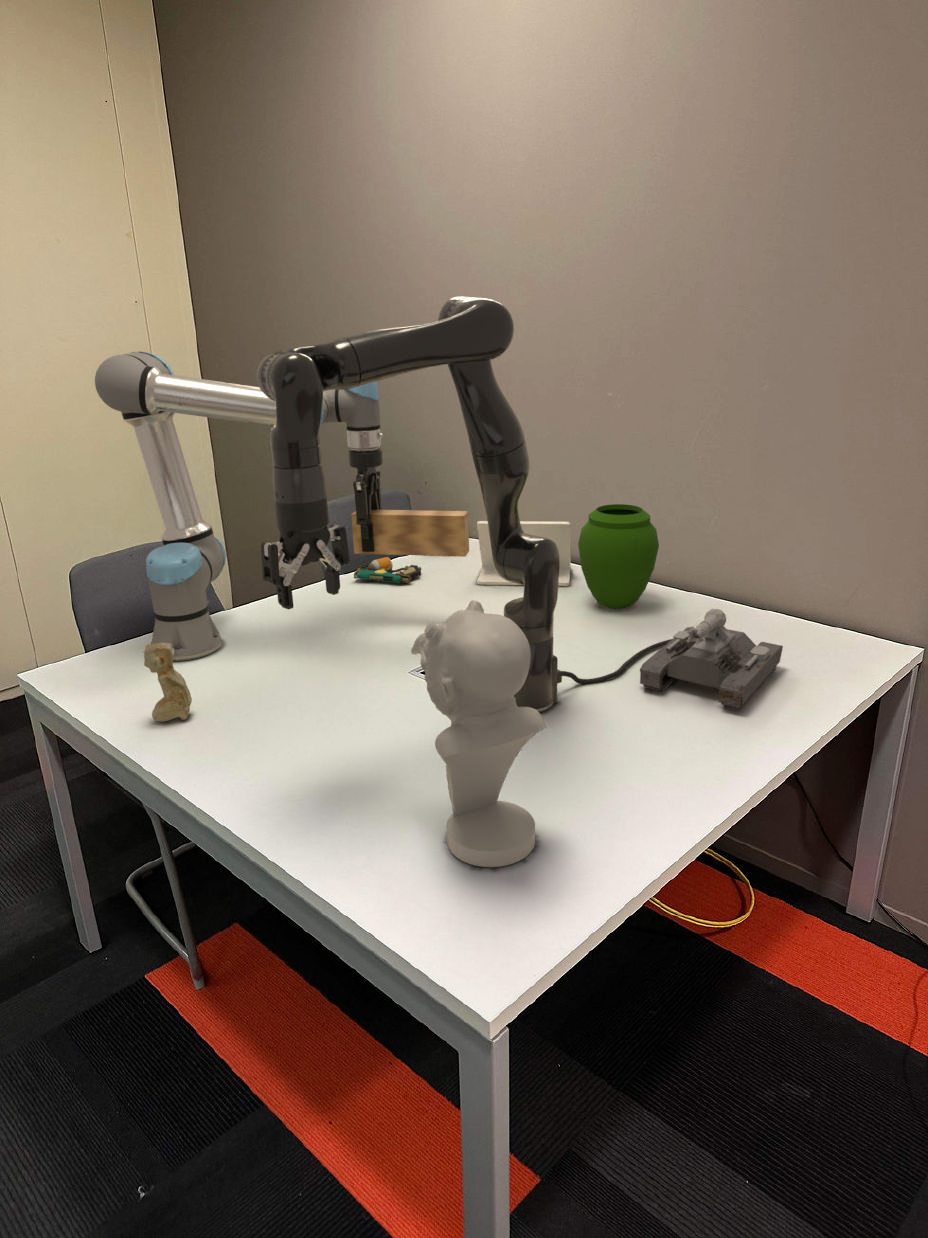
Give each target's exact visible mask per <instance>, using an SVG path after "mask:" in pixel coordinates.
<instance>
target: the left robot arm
mask: <svg viewBox="0 0 928 1238" xmlns="http://www.w3.org/2000/svg"><path fill="white" fill-rule="evenodd" d="M94 386H95V390H96V393H97V395H98V397H99V398H100V399H101V401H102V402H103V403H104V404H105V405H106V406H107V407H109V408H110V409H112V410H115V411H117V412H120V413H121V416H122V419H123V421H124V422H125V423H126V424H128V425H131V426H132V428H133V430H134V434H135V435H136V439H137V442H138V446H139V449H140V452H141V456H142V459H143V462H144V465H145V468H146V471H147V475H148V477H149V480H150V484H151V488H152V490H153V493H154V497H155V501H156V503H157V506H158V509H159V513H160V515H161V519H162V523H163V525H164V529H165V530H164V532H163V534H162V536H161V538H160V539H161V542H162V546H157V547H156V548H154V549H152V550H151V551H150V552H149V553H148V554H147V556H146V558H145V565H146V566H145V567H146V568H145V573H146V576H147V581H148V586H149V591H150V598H151V603H152V609H153V615H154V626H153V631H152V636H151V642H150V644H155V643H170V644H172V653H173V662H181V661H190V660H195V659H200V658H203V657H206V656H208V655H211V654H213V653H215V652H216V651H218V650H219V649H220V648H221V646H222V638H221V637H222V636H221V634H220V632H219V630H218V628H217V626H216V624H215V622H214V621H213V619H212V616H211V615H210V612H209V604H208V597H207V588H208V587H209V586H210V584H211V583H213V582H214V581H216V579H218V577H219V576H220V575H221V573H222V572H223V569H224V567H225V564H226V561H227V555H226V549H225V547H224V544H223V542H222V541H221V540H220V539H219V538H218V537H217V536H215V533H214V530H213V527H212V525H211V524H210V523H208V522H206V521H205V520H204V519H203V516H202V513H201V510H200V507H199V503H198V501H197V496H196V493H195V490H194V486H193V483H192V480H191V476H190V473H189V470H188V467H187V464H186V459H185V457H184V456H185V455H184V453H183V449H182V446H181V443H180V439H179V436H178V433H177V429H176V426H175V423H174V419H173V418H174V415H175V414H179V415H180V414H182V415H187V416H188V415H189V416H195V417H203V418H209V419H210V418H211V419H217V420H224V421H232V422H239V423H247V424H255V425H261V426H268V427H273V426H274V425H276V402H275V401H273V400H271V399H269V398H268V397H267V396H266V395H264V394H263V392H262V391H261V390H260V388H259V386H253V385H247V384H241V383H240V384H238V383H231V382H224V381H218V380H211V379H205V378H197V377H189V376H184V375H176V374H174V372H173V370H172V368H171V366H170V365H169V364H168V363H167V362H166V361H165V360H164V359H163V358H162V357H160V356H159V355H157V354H155V353H152V352H148V351H131V352H129V353H128V352H127V353H124V354H116V355H112V356H110V357H107V358H106V359H105V360H103V361H101V363H100V365H99V366H98V367H97V369H96V371H95V376H94ZM378 389H379V388H378V381H376V382H373V383H369V384H366V385H362V386H358V387H355V388H351V389H344V390H326V391H323V405H322V416H321V423H320V427H321V426H322V425H323V424H327V423H345V424H346V440H347V448H348V449H349V450H348V452H347V453H348V465H349V466H350V467H351V468H355V469H357V471H356V475H355V476H356V477H355V480H353V482H352V486H353V491H354V502H355V503H354V505H355V511H356V518H357V522H356V524H357V525H361V539H362V552H374V536H373V524H371V510H383V509H382V492H381V491H382V490H381V471H380V470H377V469H376V468H378V467H380V466H382V465H383V461H384V460H383V450H382V449H381V448H380V447H381V446H382V438H383V437H384V434H383V433H382V432H381V413H380V410H381V409H380V397H379V390H378Z"/></svg>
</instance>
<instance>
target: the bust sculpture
mask: <svg viewBox="0 0 928 1238" xmlns="http://www.w3.org/2000/svg"><path fill="white" fill-rule="evenodd" d="M530 653H531V652H530V646H529V643H528V640H527V638H526V636H525V634H524V633H523V632H522V630H521V629H520V628H519V627H518V626H517V625H516V624H515V623H514V622H513V621H512V620H511V619H509V618H507V617H505V616H504V615H503V614H502V615H501V614H496V613H485V609H484V607H483V605H482V603H481V602H480V601H478V600H473V599H472V600H470V601H469V603H468V605H467V607H466V609H460V610H457V611H455V612H453V613H451V615H449V616H448V617H447V618H446V619H445V620H444V622H442V624H441V623H435V622H430V623H428V624H427V625H426V626H425V628H424V632H423V633H421V634H419V635H418V636H417V637H416V638H415V640H414V642H413V645H412V647H411V649H410V654H412V655H420V667H421V669H422V670H423V672H424V681H425V682H426V690H427V693H428V696H429V698H430V701H431V702H432V704H434V706H435V708H436V710H438V711H439V712H440V713H441V714H442V716H446V717H447V718H448V719H449V720H450V726H448V727H446V728H445V729H443V730H442V731H441V732H440V733H439V734H438V735H436V738H435V741H434V748H435V749H436V752H437V753H438V755H439V757H440V758H441V760H442V761H443V762H444V763H445V771H446V781H447V790H448V796H449V800H450V803H451V810H452V813H451V814H450V815H449V817H448V819H447V822H446V844H447V847H448V849H449V851H450V852H451V854H452V855H453V856H454V857H456V858H457V859H459V860H460V861H462V862H463V863H466V864H469V865H471V866H476V867H483V868H498V867H505V866H509V865H512V864H517V862H520V861H521V860H523V859H525V858H527V856H528V855H530V854H531V852H532V851H533V849H535V848H534V847H535V845H536V822H535V821H536V820H535V819H534V817H533V816H532V814H531V813H530V812H529V811H528V810H526V809H525V808H524V807H522V806H520V805H517V804H515V803H513V802H509V801H504V800H499V796H500V793H501V790H502V788H503V785H504V783H505V780H506V778H507V776H508V773H509V771H510V769H511V768H512V765H513V763H514V761H515V760H516V759H517V756H518V755H519V753H520V752H521V750H522V749H523V748H524V747H525V745H526V744H527V743H528V742H529V741H530V740H531V739H532V738H533V737H535V735H537V734H538V733H539V732H541V731H544V730H545V729H546V728H547V725H546V723H545V720H544V718H543V717H542V714H541V712H538V711H537V710H536V709H533V708H530V707H518V706H517V705H516V698H515V697H514V695H515V694H516V693H517V692H518V691H519V690H520V689H521V688H522V686H523V685H524V683H525V680H526V678H527V675H528V671H529V666H530V656H531V655H530Z"/></svg>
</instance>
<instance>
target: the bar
mask: <svg viewBox="0 0 928 1238" xmlns="http://www.w3.org/2000/svg"><path fill="white" fill-rule="evenodd" d="M350 515H351V516H350V517H351V528H352V542H353V553H354V555H355V554H356V555H388V556H389V555H390V556H391V555H392V556H423V557H424V556H429V557H467V555H468V554H469V552H470V533H469V532H470V530H469V528H470V527H469V510H424V509H423V510H421V509H420V510H418V509H382V510H371V524H373V536H374V552H362V539H361V525H357V524H356V522H357V518H356V510H355V511H353V512H352V513H350Z"/></svg>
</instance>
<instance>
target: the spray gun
mask: <svg viewBox="0 0 928 1238" xmlns="http://www.w3.org/2000/svg"><path fill="white" fill-rule="evenodd" d="M393 567H394V566H393V562H392V560H391V558H389V556H385V557H381V558H376V559H374V560H371V563H369V564H368V566H364V567H357V568H356V570H355V571H354V572H353V579H355V580H356V579H360V580H368V581H378V582H386V583H393V584H403V583H404V584H411V582H412V580H413V579H415V578H417V577H420V576H421V575H422V567H421V566H419V565H415V564H410V565H405V566H404V567H400V568H397V569H393Z"/></svg>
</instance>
